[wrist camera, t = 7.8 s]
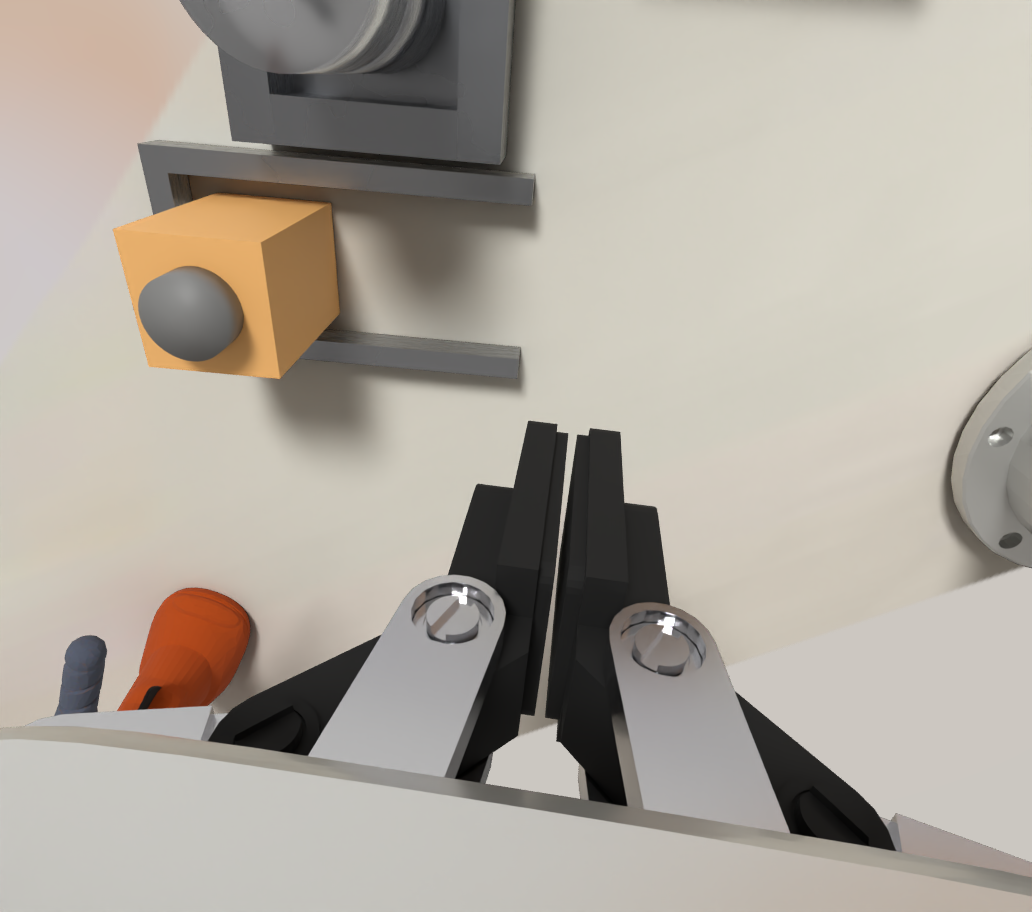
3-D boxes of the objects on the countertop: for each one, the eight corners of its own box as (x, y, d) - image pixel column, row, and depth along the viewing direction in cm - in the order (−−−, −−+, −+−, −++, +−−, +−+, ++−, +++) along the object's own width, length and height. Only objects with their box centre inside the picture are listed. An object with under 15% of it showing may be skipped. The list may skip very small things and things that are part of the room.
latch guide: (534, 173, 21) (533, 179, 20) (518, 365, 24) (517, 378, 23) (158, 140, 21) (137, 143, 20) (198, 336, 24) (183, 347, 23)
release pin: (331, 202, 22) (244, 251, 16) (339, 313, 24) (266, 393, 18) (217, 192, 22) (88, 237, 16) (236, 303, 24) (129, 380, 18)
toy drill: (323, 446, 27) (114, 779, 14) (233, 687, 36) (58, 1019, 24) (213, 400, 26) (-115, 711, 13) (149, 660, 35) (-80, 989, 23)
